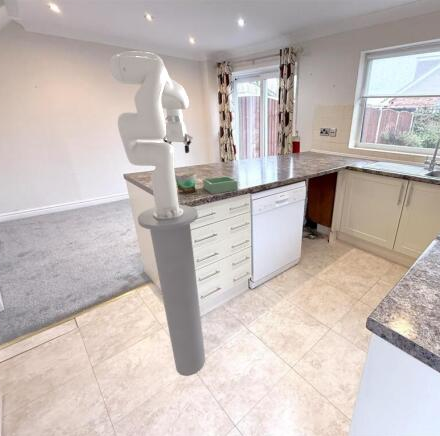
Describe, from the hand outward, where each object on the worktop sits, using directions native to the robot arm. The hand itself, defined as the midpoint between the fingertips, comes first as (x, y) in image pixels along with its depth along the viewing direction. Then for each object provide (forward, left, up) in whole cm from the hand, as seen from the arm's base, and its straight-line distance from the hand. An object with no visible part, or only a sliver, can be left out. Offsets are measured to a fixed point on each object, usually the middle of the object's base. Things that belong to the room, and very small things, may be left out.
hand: (178, 152), depth 138 cm
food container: (-8, -1, -22) cm, 23 cm away
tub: (-11, -19, -22) cm, 31 cm away
